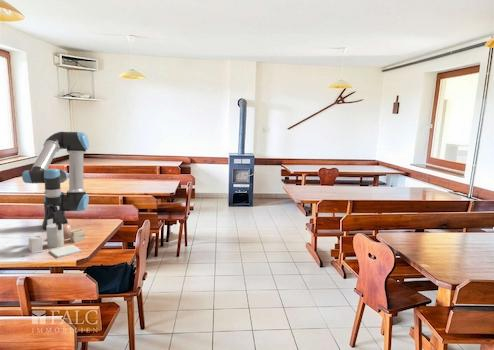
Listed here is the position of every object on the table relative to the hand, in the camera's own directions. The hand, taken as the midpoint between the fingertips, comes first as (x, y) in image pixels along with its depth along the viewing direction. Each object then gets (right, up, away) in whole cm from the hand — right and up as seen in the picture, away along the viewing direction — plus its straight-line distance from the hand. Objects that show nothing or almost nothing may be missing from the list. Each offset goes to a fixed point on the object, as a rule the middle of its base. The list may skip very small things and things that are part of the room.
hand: (54, 232), depth 182 cm
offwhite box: (-7, -9, -6) cm, 13 cm away
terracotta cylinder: (-2, -6, +15) cm, 16 cm away
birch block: (+7, -7, +11) cm, 15 cm away
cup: (0, -8, +1) cm, 8 cm away
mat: (+10, -9, -7) cm, 16 cm away
